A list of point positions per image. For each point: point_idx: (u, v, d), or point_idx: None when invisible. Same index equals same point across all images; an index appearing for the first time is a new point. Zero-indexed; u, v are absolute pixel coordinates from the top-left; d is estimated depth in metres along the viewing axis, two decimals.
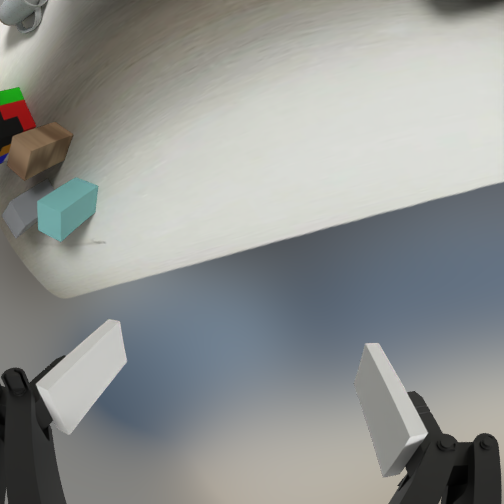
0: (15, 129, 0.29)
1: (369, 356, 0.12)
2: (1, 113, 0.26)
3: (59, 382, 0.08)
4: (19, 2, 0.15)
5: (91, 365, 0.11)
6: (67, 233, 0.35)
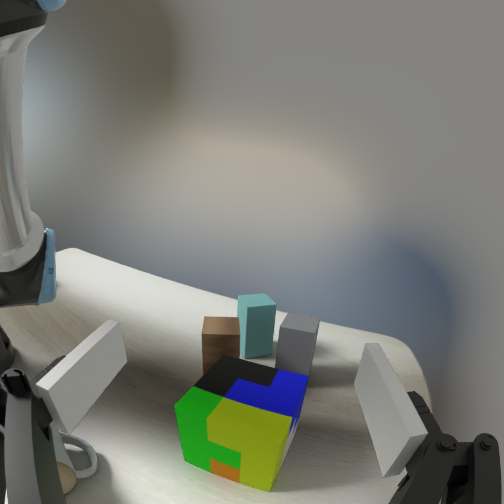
0: None
1: (369, 356, 0.12)
2: None
3: (59, 382, 0.08)
4: None
5: (91, 365, 0.11)
6: None
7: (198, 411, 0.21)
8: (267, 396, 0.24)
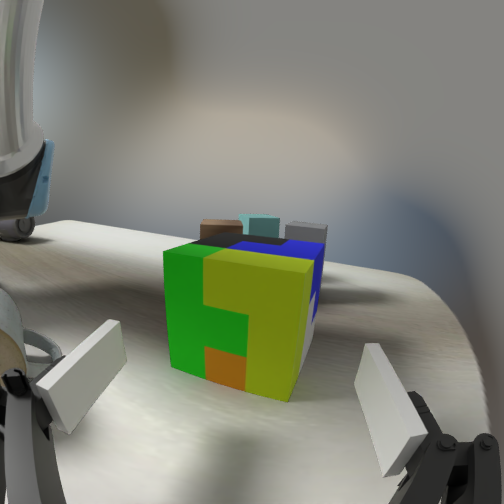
0: None
1: (369, 356, 0.12)
2: None
3: (59, 382, 0.08)
4: (0, 290, 0.16)
5: (91, 365, 0.11)
6: None
7: (193, 254, 0.19)
8: (279, 249, 0.22)
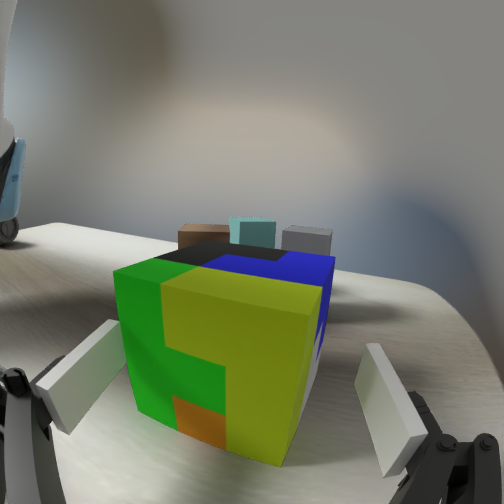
0: None
1: (369, 356, 0.12)
2: None
3: (59, 382, 0.08)
4: None
5: (91, 365, 0.11)
6: None
7: (150, 276, 0.13)
8: (274, 268, 0.16)
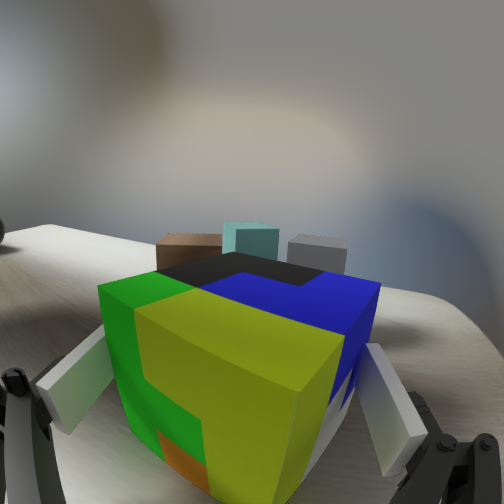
0: None
1: (369, 356, 0.12)
2: None
3: (59, 382, 0.08)
4: None
5: (91, 365, 0.11)
6: None
7: (129, 297, 0.11)
8: (292, 297, 0.12)
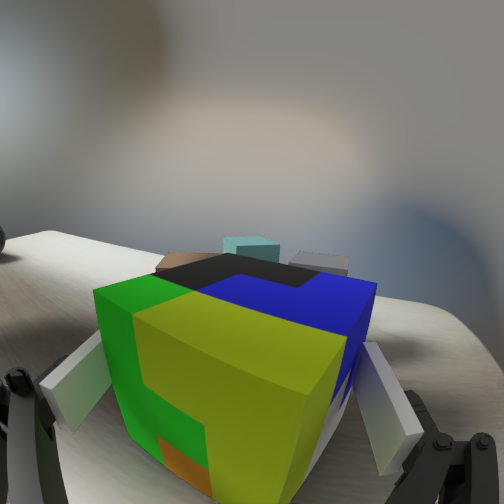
0: None
1: (366, 355, 0.12)
2: None
3: (62, 382, 0.08)
4: None
5: (94, 364, 0.11)
6: None
7: (127, 301, 0.10)
8: (291, 299, 0.12)
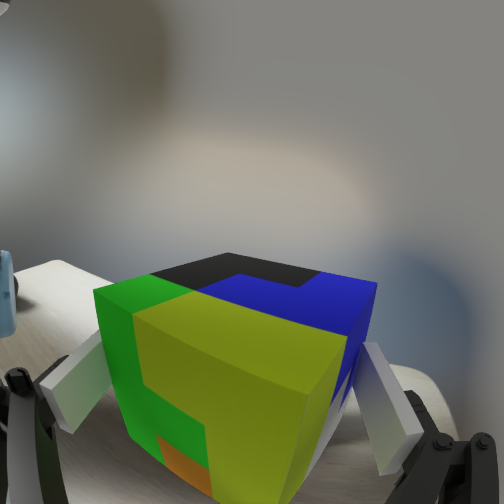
0: None
1: (366, 355, 0.12)
2: None
3: (62, 382, 0.08)
4: None
5: (94, 365, 0.11)
6: None
7: (127, 301, 0.10)
8: (291, 299, 0.12)
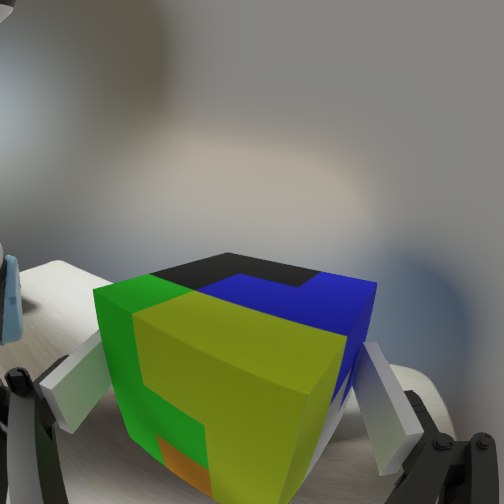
0: None
1: (366, 355, 0.12)
2: None
3: (63, 382, 0.08)
4: None
5: (94, 365, 0.11)
6: None
7: (127, 301, 0.10)
8: (291, 299, 0.12)
